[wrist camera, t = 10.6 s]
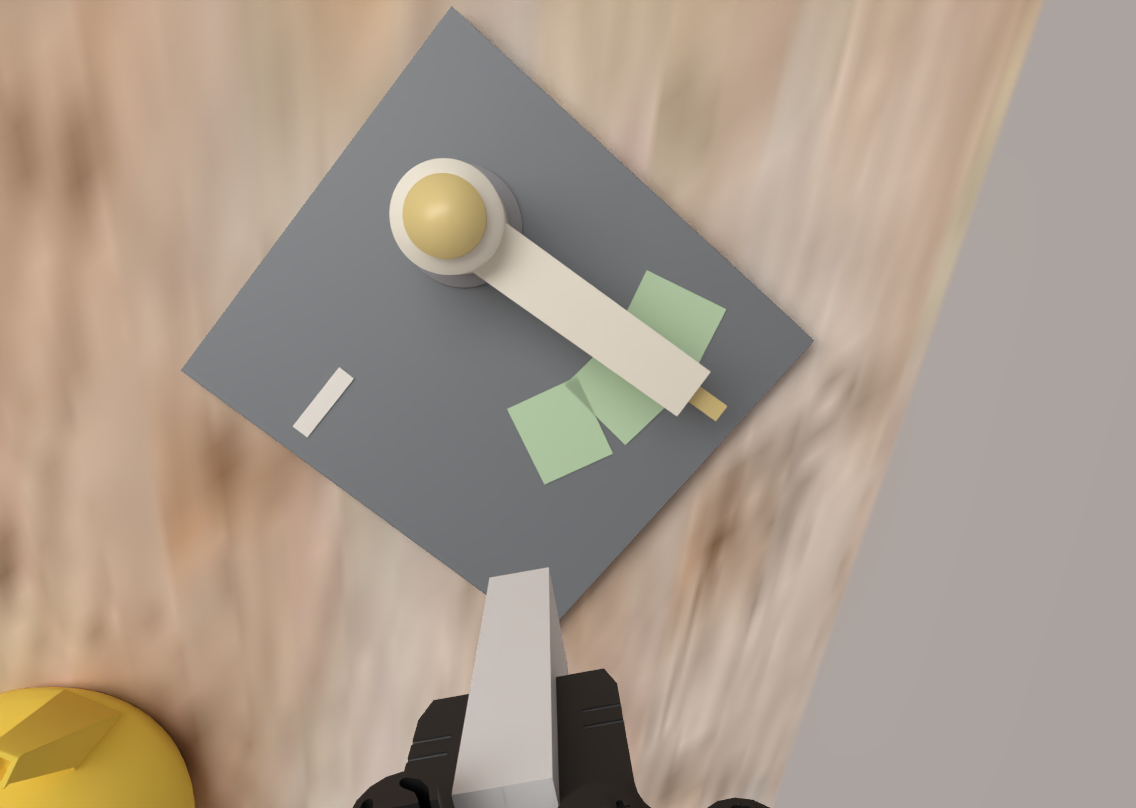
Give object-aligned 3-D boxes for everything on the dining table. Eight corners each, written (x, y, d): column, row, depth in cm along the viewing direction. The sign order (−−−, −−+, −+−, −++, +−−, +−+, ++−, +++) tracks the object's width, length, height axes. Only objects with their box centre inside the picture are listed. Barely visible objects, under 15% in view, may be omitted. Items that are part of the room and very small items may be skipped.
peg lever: (394, 237, 33) (364, 230, 27) (446, 155, 32) (426, 130, 26) (682, 438, 36) (708, 469, 30) (736, 367, 35) (773, 386, 29)
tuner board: (454, 15, 32) (450, 3, 31) (805, 338, 37) (816, 341, 35) (192, 367, 36) (177, 371, 34) (543, 626, 40) (543, 639, 38)
